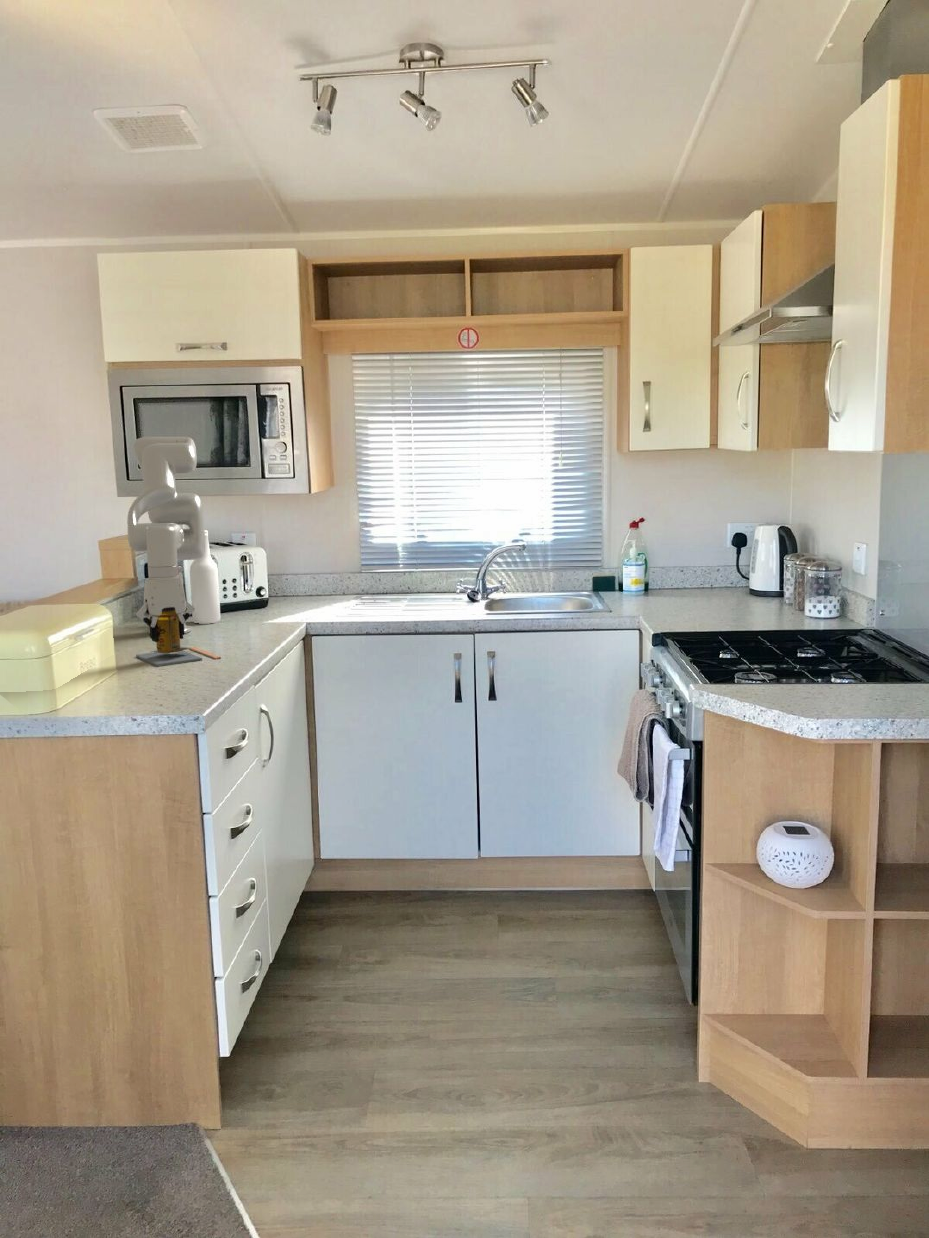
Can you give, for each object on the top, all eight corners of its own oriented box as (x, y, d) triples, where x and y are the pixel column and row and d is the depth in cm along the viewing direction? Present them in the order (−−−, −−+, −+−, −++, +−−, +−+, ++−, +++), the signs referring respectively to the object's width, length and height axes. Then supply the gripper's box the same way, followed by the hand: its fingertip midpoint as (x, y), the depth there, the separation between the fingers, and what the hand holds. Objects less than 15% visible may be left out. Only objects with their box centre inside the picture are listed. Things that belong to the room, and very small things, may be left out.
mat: (136, 656, 258) (136, 654, 258) (179, 651, 265) (179, 649, 265) (157, 666, 246) (157, 664, 245) (202, 660, 253) (201, 658, 253)
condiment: (149, 652, 253) (146, 607, 251) (172, 646, 261) (169, 603, 259) (170, 654, 250) (168, 609, 248) (193, 648, 258) (190, 604, 256)
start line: (189, 649, 268) (189, 647, 268) (194, 648, 269) (194, 647, 269) (215, 659, 254) (215, 657, 254) (220, 658, 255) (220, 656, 255)
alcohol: (210, 625, 307) (205, 531, 302) (187, 623, 310) (181, 531, 305) (226, 620, 315) (221, 529, 310) (203, 619, 318) (197, 529, 313)
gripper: (189, 568, 260) (193, 633, 263) (125, 574, 249) (130, 641, 252) (200, 571, 254) (204, 637, 257) (135, 576, 244) (140, 645, 247)
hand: (167, 639), depth 255 cm, fingers closed on condiment, 6 cm apart
